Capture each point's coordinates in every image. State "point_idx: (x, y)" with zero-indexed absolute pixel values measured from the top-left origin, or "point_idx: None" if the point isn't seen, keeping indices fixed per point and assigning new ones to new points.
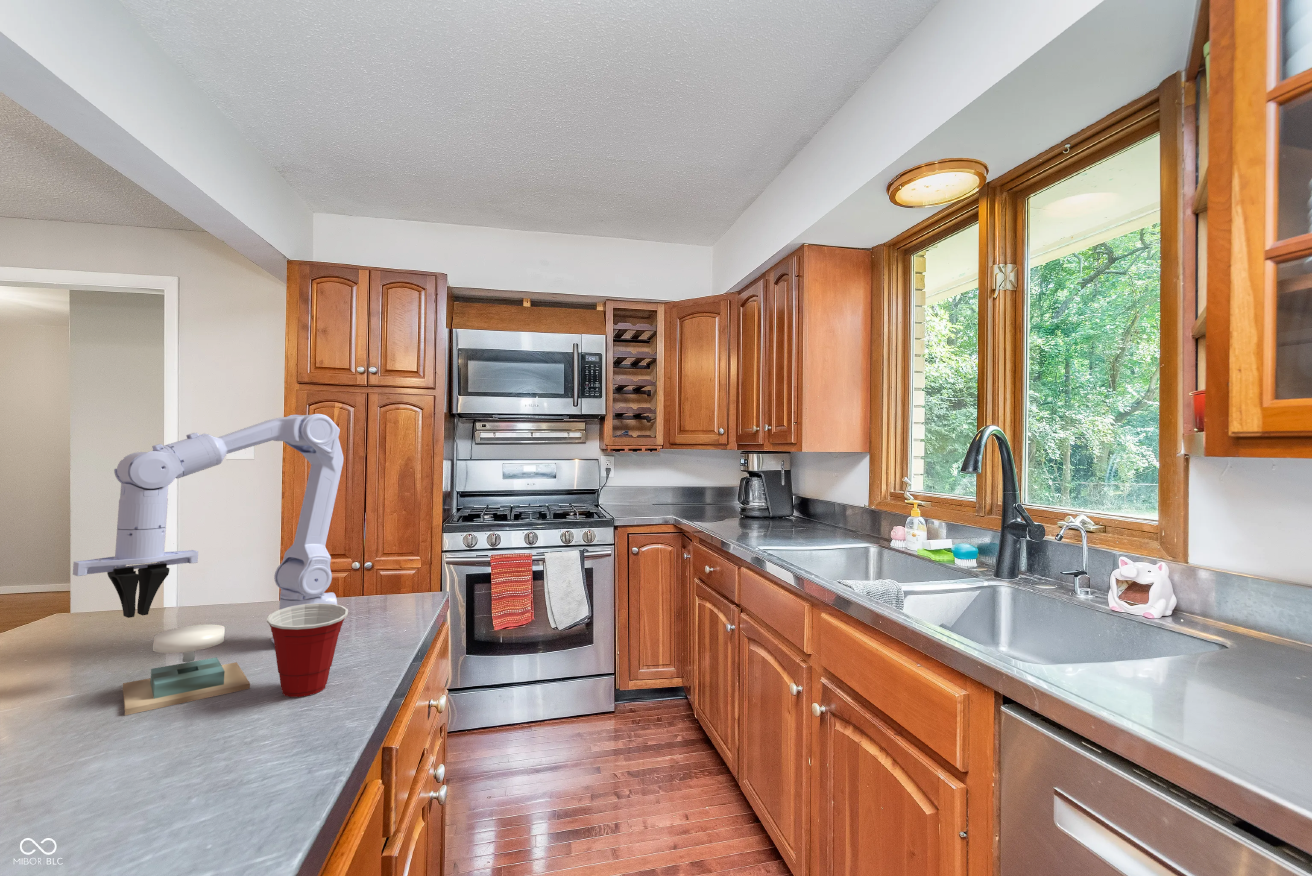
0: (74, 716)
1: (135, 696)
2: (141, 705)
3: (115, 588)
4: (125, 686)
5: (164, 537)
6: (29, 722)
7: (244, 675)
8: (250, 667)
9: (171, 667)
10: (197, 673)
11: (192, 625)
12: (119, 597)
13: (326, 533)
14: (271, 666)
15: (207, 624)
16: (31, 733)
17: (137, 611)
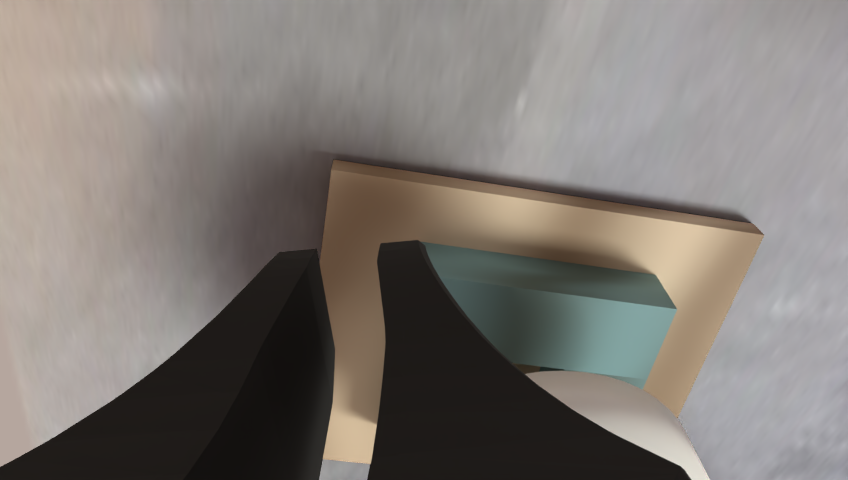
0: (171, 346)
1: (340, 364)
2: (339, 455)
3: (95, 415)
4: (332, 222)
5: None
6: (46, 301)
7: (677, 412)
8: (780, 269)
9: (486, 318)
10: None
11: (629, 428)
12: (188, 343)
13: None
14: (829, 317)
15: (691, 462)
16: (68, 399)
17: (380, 245)
